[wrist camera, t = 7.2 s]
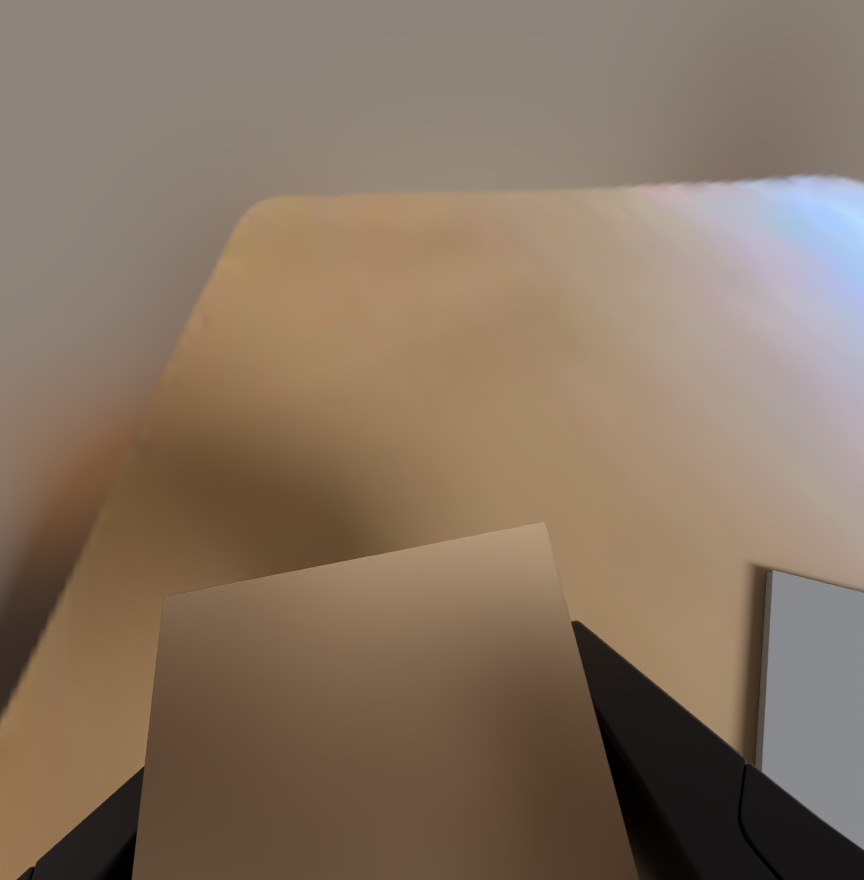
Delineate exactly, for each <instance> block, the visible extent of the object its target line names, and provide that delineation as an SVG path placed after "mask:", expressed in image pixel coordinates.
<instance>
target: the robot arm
mask: <svg viewBox="0 0 864 880" xmlns="http://www.w3.org/2000/svg"><path fill="white" fill-rule="evenodd" d="M571 624H572V628H573V631H574V635H575V639H576V643H577V646H578V650H579V654H580V658H581V662H582V665H583V669H584V673H585V677H586V681H587V684H588V688H589V692H590V696H591V699H592V703H593V707H594V711H595V715H596V718H597V722H598V726H599V730H600V733H601V737H602V741H603V745H604V749H605V752H606V756H607V760H608V764H609V768H610V771H611V775H612V779H613V783H614V786H615V790H616V794H617V798H618V802H619V805H620V809H621V813H622V817H623V820H624V824H625V828H626V832H627V836H628V839H629V843H630V847H631V851H632V855H633V858H634V862H635V866H636V870H637V873H638V877H639V880H864V849H862V848H861V847H859V846H858V845H857V844H855V843H854V842H852V841H851V840H850V839H848V838H847V837H846V836H844V835H843V834H841V833H840V832H839V831H837V830H836V829H835V828H833V827H832V826H830V825H829V824H828V823H826V822H825V821H824V820H822V819H821V818H820V817H818V816H817V815H816V814H814V813H813V812H812V811H811V810H809V809H808V808H807V807H806V806H804V805H803V804H802V803H800V802H799V801H798V800H797V799H795V798H794V797H793V796H792V795H790V794H789V793H788V792H787V791H785V790H784V789H783V788H781V787H780V786H779V785H778V784H776V783H775V782H774V781H773V780H772V779H770V778H769V777H768V776H767V775H765V774H764V773H763V772H762V771H761V770H759V769H758V768H757V767H756V766H755V765H754V764H752V763H747V760H746V759H745V757H743V756H742V755H741V754H740V753H739V752H737V751H736V750H735V749H734V748H733V747H731V746H730V745H729V744H728V743H726V742H725V741H724V740H723V739H722V738H720V737H719V736H718V735H717V734H716V733H714V732H713V731H712V730H711V729H709V728H708V727H707V726H706V725H705V724H703V723H702V722H701V721H700V720H699V719H697V718H696V717H695V716H694V715H692V714H691V713H690V712H689V711H688V710H686V709H685V708H684V707H683V706H682V705H680V704H679V703H678V702H677V701H676V700H674V699H673V698H672V697H671V696H669V695H668V694H667V693H666V692H665V691H663V690H662V689H661V688H660V687H659V686H657V685H656V684H655V683H654V682H652V681H651V680H650V679H649V678H648V677H646V676H645V675H644V674H643V673H642V672H640V671H639V670H638V669H637V668H635V667H634V666H633V665H632V664H631V663H629V662H628V661H627V660H626V659H625V658H623V657H622V656H621V655H620V654H619V653H617V652H616V651H615V650H614V649H612V648H611V647H610V646H609V645H608V644H606V643H605V642H604V641H603V640H602V639H600V638H599V637H598V636H597V635H595V634H594V633H593V632H592V631H591V630H589V629H588V628H587V627H586V626H585V625H583V624H582V623H581V622H579V621H571ZM144 767H145V766H144ZM144 767H143V768H142V769H140V770H139V771H138V772H137V773H136V774H135V775H134V776H133V777H131V778H130V779H129V780H128V781H127V782H126V783H125V784H124V785H122V786H121V787H120V788H119V789H118V790H117V791H116V792H115V793H114V794H112V795H111V796H110V797H109V798H108V799H107V800H106V801H105V802H103V803H102V804H101V805H100V806H99V807H98V808H97V809H96V810H94V811H93V812H92V813H91V814H90V815H89V816H88V817H87V818H85V819H84V820H83V821H82V822H81V823H80V824H79V825H78V826H76V827H75V828H74V829H73V830H72V831H71V832H70V833H69V834H67V835H66V836H65V837H64V838H63V839H62V840H61V841H60V842H58V843H57V844H56V845H55V846H54V847H53V848H52V849H51V850H49V851H48V852H47V853H46V854H45V855H44V856H43V857H42V858H40V859H39V860H38V861H37V863H36V865H35V867H30V868H29V869H28V870H27V871H26V872H24V873H23V874H22V875H21V876H20V877H19V878H18V879H17V880H132V874H133V865H134V856H135V847H136V838H137V829H138V820H139V811H140V802H141V794H142V785H143V776H144Z"/></svg>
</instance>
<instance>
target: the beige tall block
mask: <svg viewBox="0 0 864 880" xmlns="http://www.w3.org/2000/svg"><path fill="white" fill-rule="evenodd" d="M132 880H639V877H638V873H637V870H636V866H635V862H634V858H633V855H632V851H631V847H630V843H629V839H628V836H627V832H626V828H625V824H624V820H623V817H622V813H621V809H620V805H619V802H618V798H617V794H616V790H615V786H614V783H613V779H612V775H611V771H610V768H609V764H608V760H607V756H606V752H605V749H604V745H603V741H602V737H601V733H600V730H599V726H598V722H597V718H596V715H595V711H594V707H593V703H592V699H591V696H590V692H589V688H588V684H587V681H586V677H585V673H584V669H583V665H582V662H581V658H580V654H579V650H578V646H577V643H576V639H575V635H574V631H573V628H572V624H571V620H570V616H569V612H568V609H567V605H566V601H565V597H564V593H563V590H562V586H561V582H560V578H559V575H558V571H557V567H556V563H555V559H554V556H553V552H552V548H551V544H550V541H549V537H548V533H547V529H546V525H545V522H541V523H536V524H531V525H526V526H520V527H515V528H510V529H505V530H500V531H495V532H490V533H485V534H480V535H475V536H470V537H464V538H459V539H454V540H449V541H444V542H439V543H434V544H429V545H424V546H419V547H413V548H408V549H403V550H398V551H393V552H388V553H383V554H378V555H373V556H368V557H363V558H357V559H352V560H347V561H342V562H337V563H332V564H327V565H322V566H317V567H312V568H307V569H301V570H296V571H291V572H286V573H281V574H276V575H271V576H266V577H261V578H256V579H250V580H245V581H240V582H235V583H230V584H225V585H220V586H215V587H210V588H205V589H200V590H194V591H189V592H184V593H179V594H174V595H169V596H164V598H163V607H162V616H161V625H160V634H159V643H158V651H157V660H156V669H155V678H154V687H153V696H152V705H151V714H150V723H149V731H148V740H147V749H146V758H145V767H144V776H143V785H142V794H141V802H140V811H139V820H138V829H137V838H136V847H135V856H134V865H133V874H132Z"/></svg>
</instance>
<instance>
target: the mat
mask: <svg viewBox="0 0 864 880" xmlns="http://www.w3.org/2000/svg"><path fill="white" fill-rule="evenodd" d="M755 766H756V767H757V768H758V769H759V770H761V771H762V772H763V773H764V774H765V775H767V776H768V777H769V778H770V779H772V780H773V781H774V782H775V783H776V784H778V785H779V786H780V787H781V788H783V789H784V790H785V791H787V792H788V793H789V794H790V795H792V796H793V797H794V798H795V799H797V800H798V801H799V802H800V803H802V804H803V805H804V806H806V807H807V808H808V809H809V810H811V811H812V812H813V813H814V814H816V815H817V816H818V817H820V818H821V819H822V820H824V821H825V822H826V823H828V824H829V825H830V826H832V827H833V828H835V829H836V830H837V831H839V832H840V833H841V834H843V835H844V836H846V837H847V838H848V839H850V840H851V841H852V842H854V843H855V844H857V845H858V846H859V847H861V848H862V849H864V593H863V592H859V591H855V590H851V589H847V588H843V587H839V586H835V585H831V584H827V583H823V582H819V581H815V580H811V579H807V578H803V577H799V576H795V575H791V574H787V573H783V572H779V571H775V570H772V571H770V572H768V573H767V580H766V596H765V613H764V629H763V646H762V662H761V679H760V695H759V712H758V728H757V745H756V761H755Z"/></svg>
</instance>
